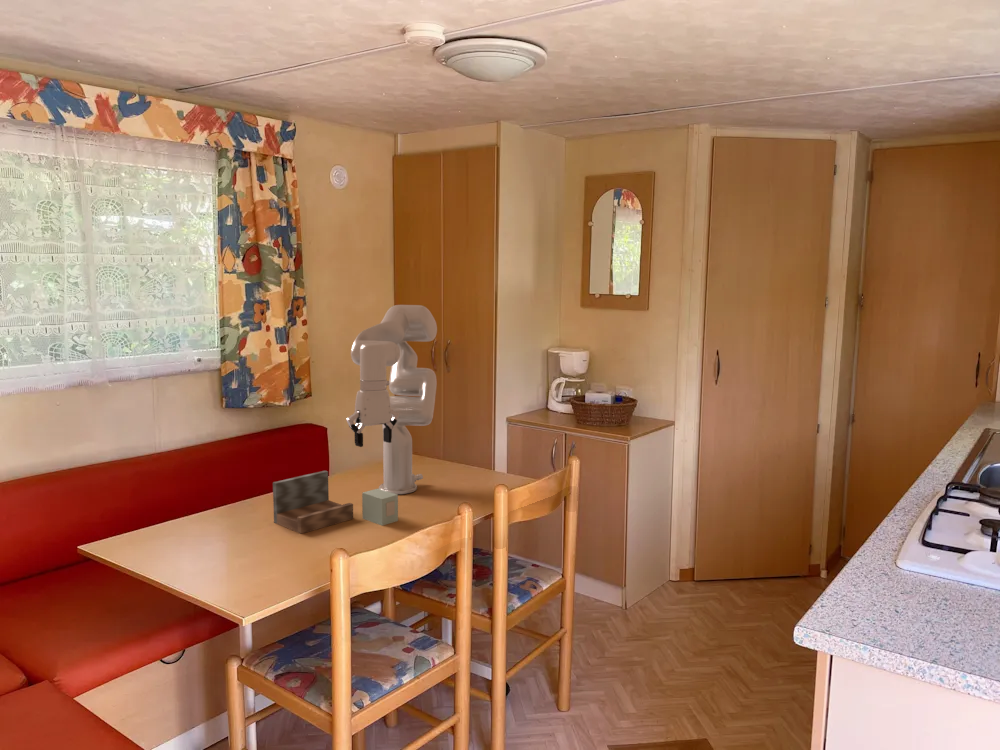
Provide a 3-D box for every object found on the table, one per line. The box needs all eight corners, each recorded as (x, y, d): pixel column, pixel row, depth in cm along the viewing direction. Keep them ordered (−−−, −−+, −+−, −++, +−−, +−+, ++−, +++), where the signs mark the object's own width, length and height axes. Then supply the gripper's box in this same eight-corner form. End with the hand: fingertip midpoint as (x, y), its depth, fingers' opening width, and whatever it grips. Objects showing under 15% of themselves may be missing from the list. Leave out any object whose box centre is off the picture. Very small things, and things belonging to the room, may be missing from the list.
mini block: (378, 514, 234) (378, 488, 233) (398, 521, 228) (398, 494, 227) (362, 518, 230) (362, 492, 228) (382, 526, 223) (382, 499, 222)
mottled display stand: (325, 508, 238) (324, 470, 237) (353, 518, 229) (352, 479, 228) (273, 522, 225) (272, 482, 223) (301, 533, 216) (300, 492, 214)
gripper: (390, 382, 233) (390, 438, 235) (340, 386, 221) (340, 445, 223) (405, 385, 227) (405, 442, 229) (354, 389, 216) (354, 450, 218)
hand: (373, 444), depth 226 cm, fingers open, 9 cm apart
